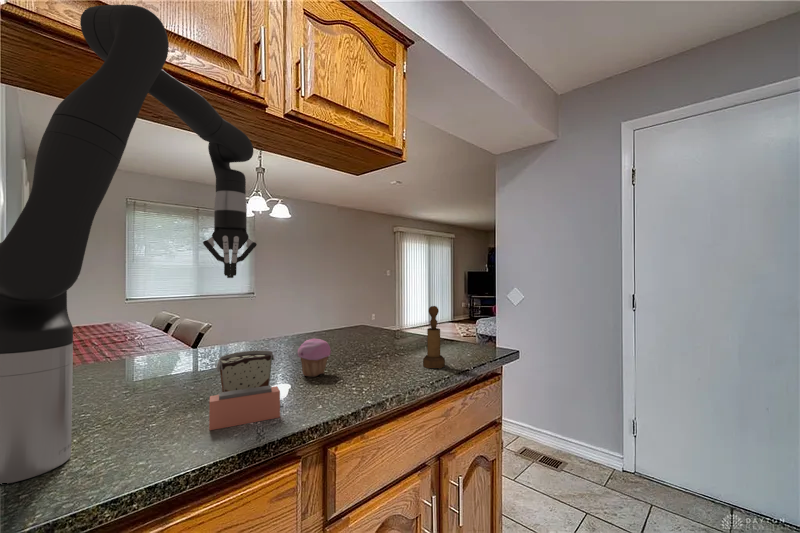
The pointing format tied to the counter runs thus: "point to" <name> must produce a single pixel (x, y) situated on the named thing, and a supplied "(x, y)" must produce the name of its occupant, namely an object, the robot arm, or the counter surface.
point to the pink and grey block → (244, 406)
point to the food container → (245, 370)
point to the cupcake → (314, 356)
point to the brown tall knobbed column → (433, 343)
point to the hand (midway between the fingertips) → (230, 277)
